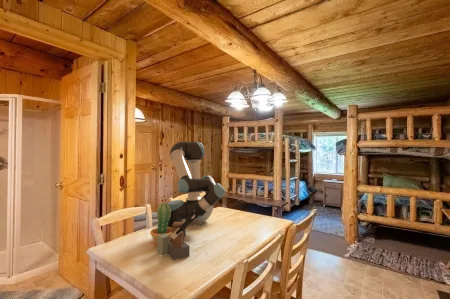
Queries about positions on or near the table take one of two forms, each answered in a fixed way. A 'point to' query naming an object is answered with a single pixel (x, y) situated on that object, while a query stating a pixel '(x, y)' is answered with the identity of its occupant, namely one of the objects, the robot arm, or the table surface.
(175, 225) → the walnut block
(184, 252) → the charcoal base block
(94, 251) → the table surface
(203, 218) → the decorative bowl
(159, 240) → the sage block
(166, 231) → the potted cactus
